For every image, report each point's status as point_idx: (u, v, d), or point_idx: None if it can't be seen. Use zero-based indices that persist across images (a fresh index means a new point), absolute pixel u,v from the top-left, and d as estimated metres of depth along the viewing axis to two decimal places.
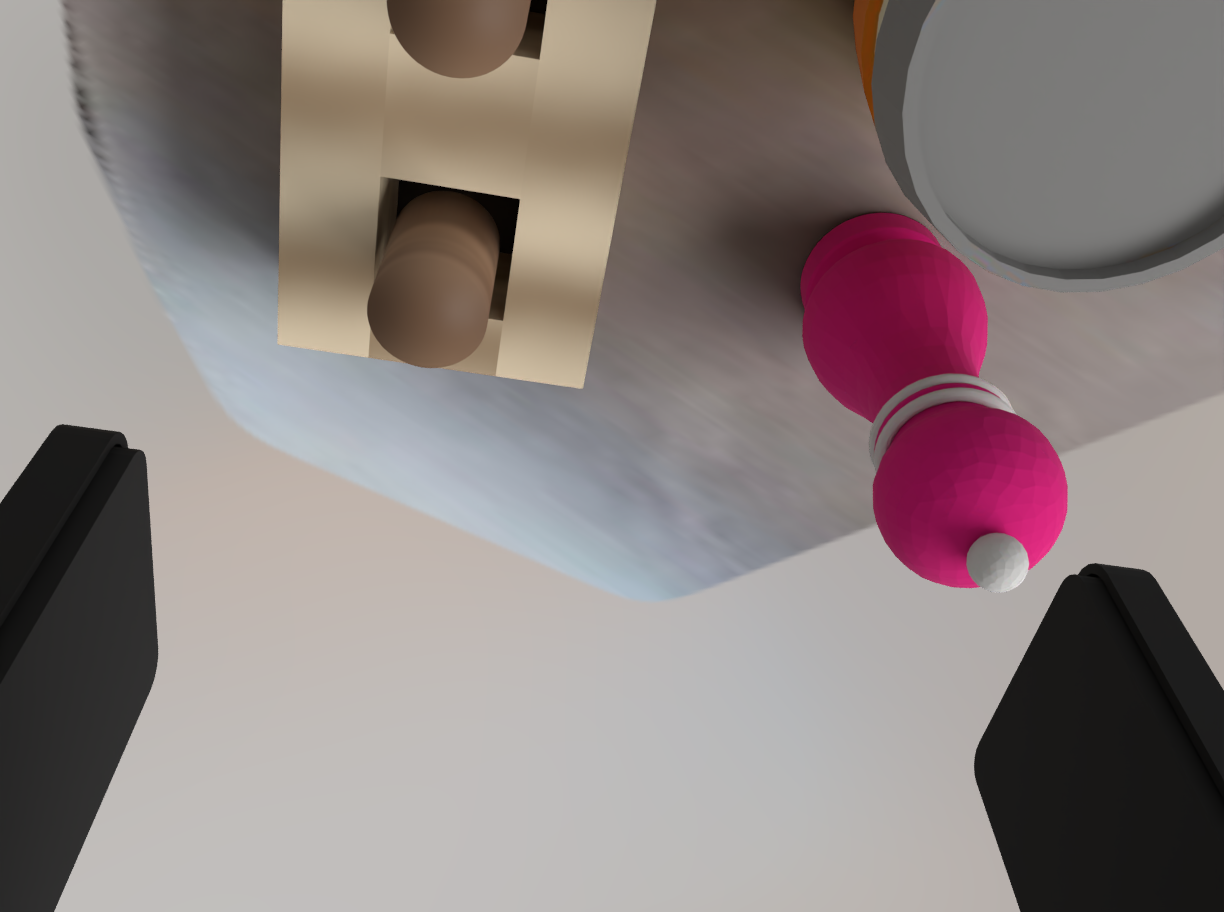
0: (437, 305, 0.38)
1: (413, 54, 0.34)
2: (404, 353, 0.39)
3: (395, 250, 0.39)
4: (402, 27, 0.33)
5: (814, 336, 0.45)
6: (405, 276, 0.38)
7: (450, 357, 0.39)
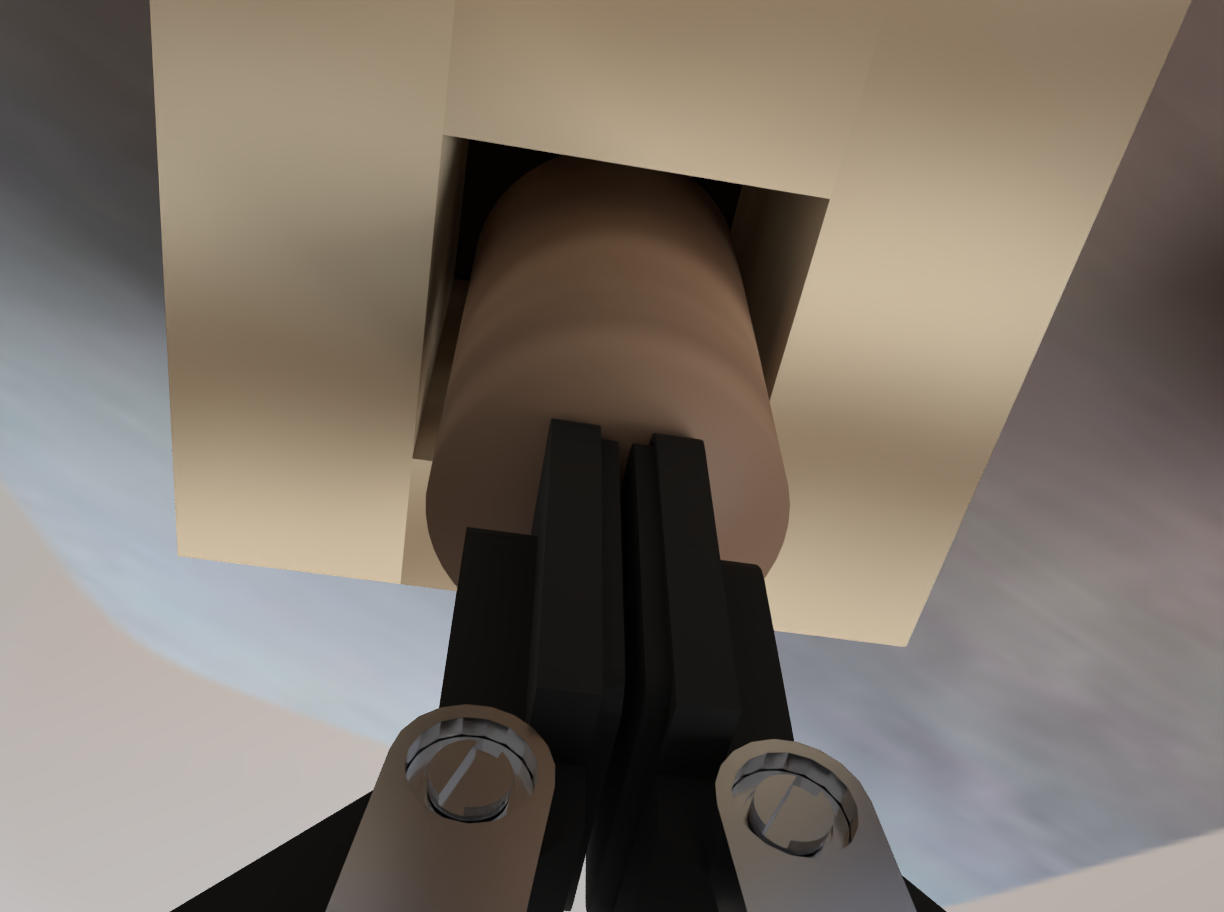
0: None
1: None
2: None
3: (507, 317, 0.13)
4: None
5: None
6: (550, 407, 0.12)
7: None
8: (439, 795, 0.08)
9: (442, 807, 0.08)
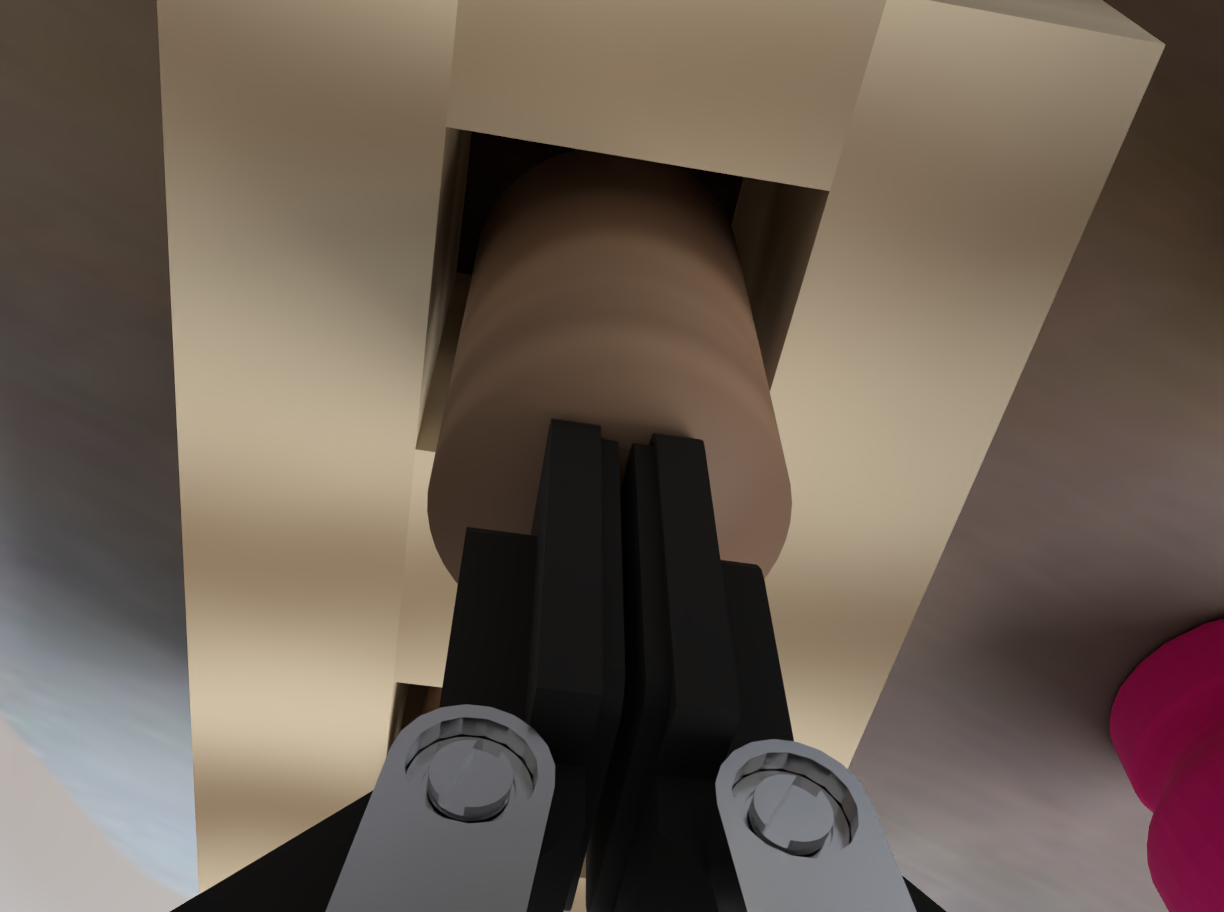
0: None
1: None
2: None
3: None
4: None
5: (1197, 889, 0.24)
6: None
7: None
8: (439, 795, 0.08)
9: (442, 807, 0.08)
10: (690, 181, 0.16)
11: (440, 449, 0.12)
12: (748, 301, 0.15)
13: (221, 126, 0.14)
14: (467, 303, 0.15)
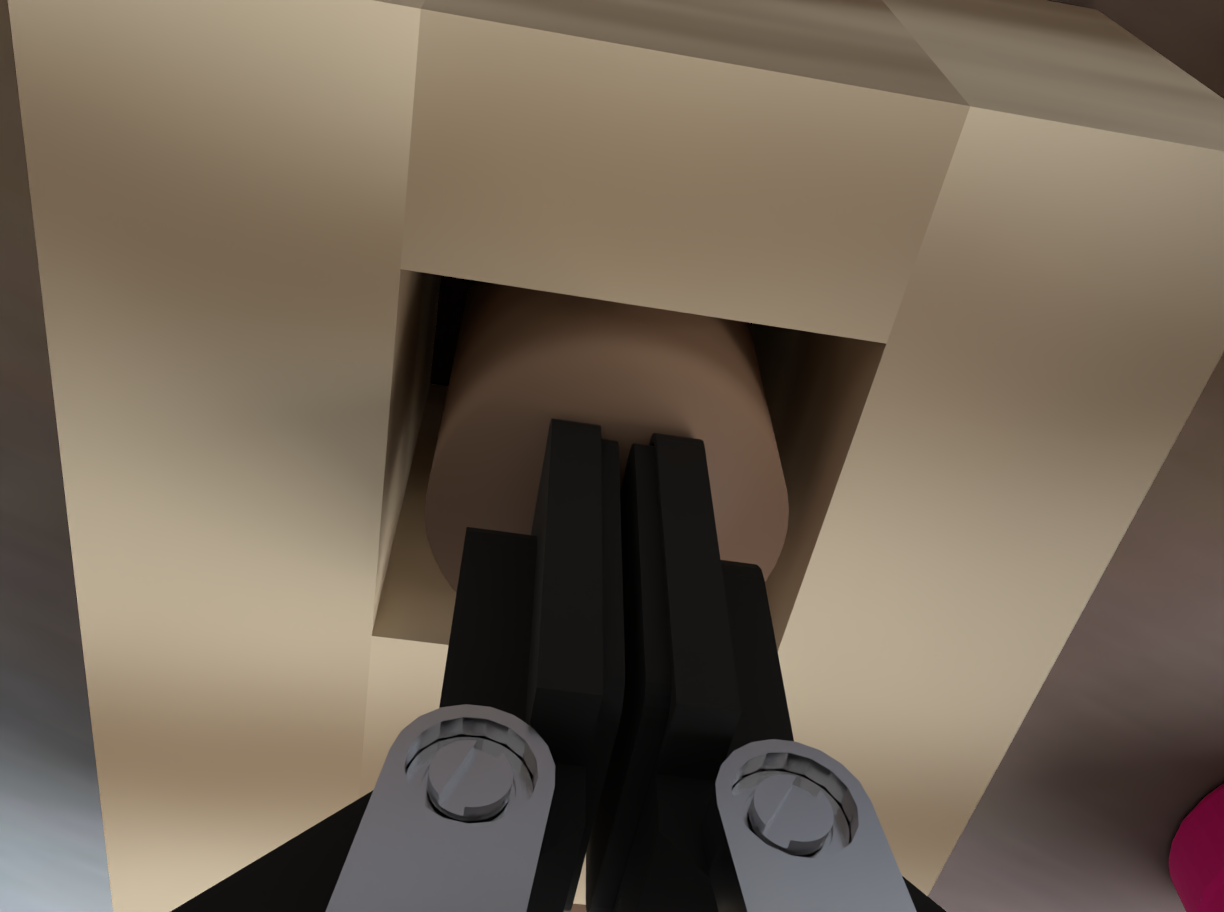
0: None
1: None
2: None
3: None
4: None
5: None
6: None
7: None
8: (439, 796, 0.08)
9: (442, 808, 0.08)
10: None
11: (437, 457, 0.12)
12: None
13: (113, 267, 0.11)
14: (465, 311, 0.15)
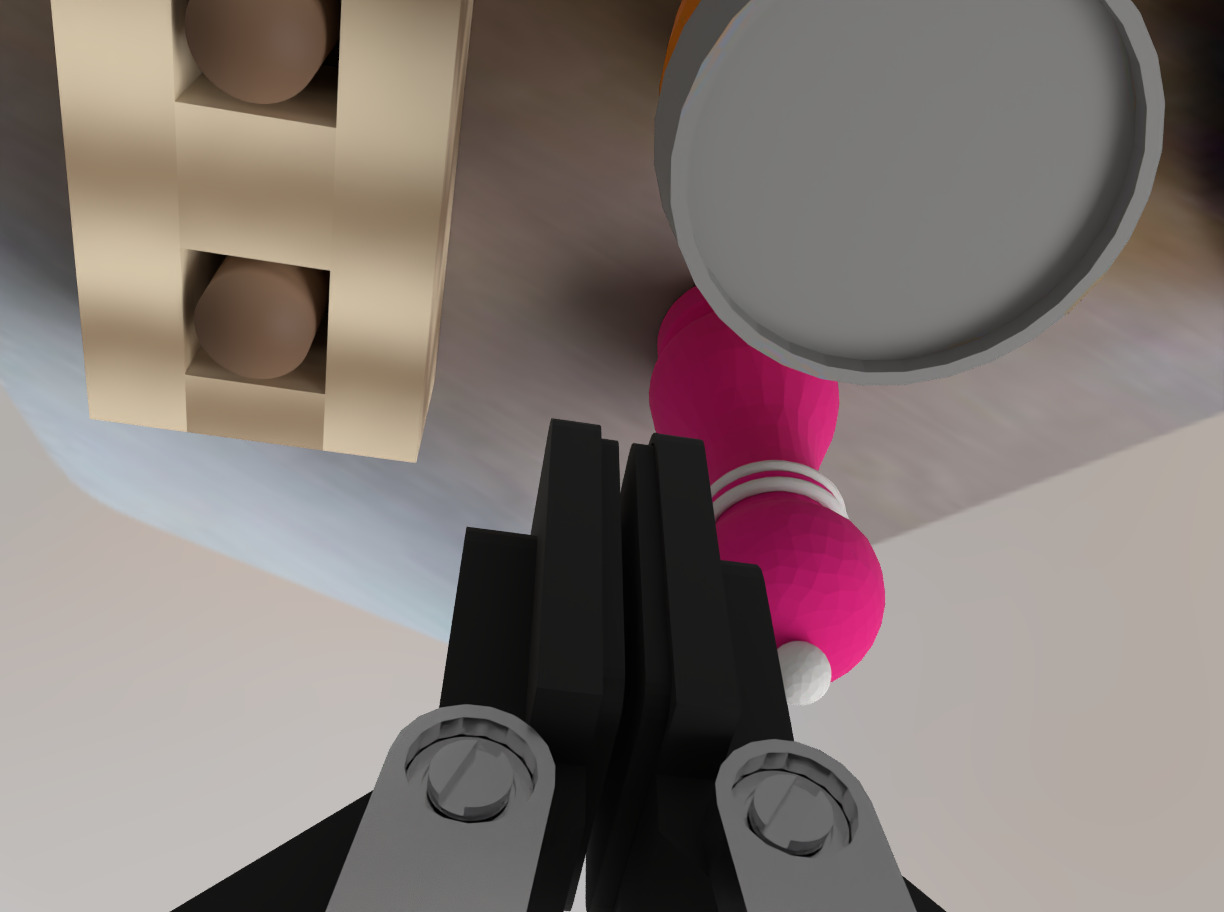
0: (261, 319, 0.40)
1: (215, 81, 0.35)
2: (234, 364, 0.41)
3: (223, 266, 0.41)
4: (202, 56, 0.35)
5: (656, 408, 0.43)
6: (228, 291, 0.39)
7: (278, 368, 0.41)
8: (439, 795, 0.08)
9: (442, 807, 0.08)
10: None
11: (187, 6, 0.34)
12: None
13: None
14: None
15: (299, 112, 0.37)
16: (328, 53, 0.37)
